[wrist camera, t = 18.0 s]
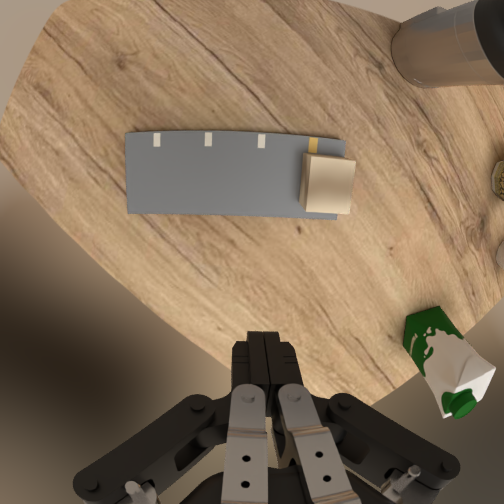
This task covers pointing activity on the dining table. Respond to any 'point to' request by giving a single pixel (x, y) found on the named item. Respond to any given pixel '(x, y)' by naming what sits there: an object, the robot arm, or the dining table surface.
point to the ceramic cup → (498, 180)
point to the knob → (326, 183)
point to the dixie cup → (500, 255)
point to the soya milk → (447, 362)
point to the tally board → (220, 172)
